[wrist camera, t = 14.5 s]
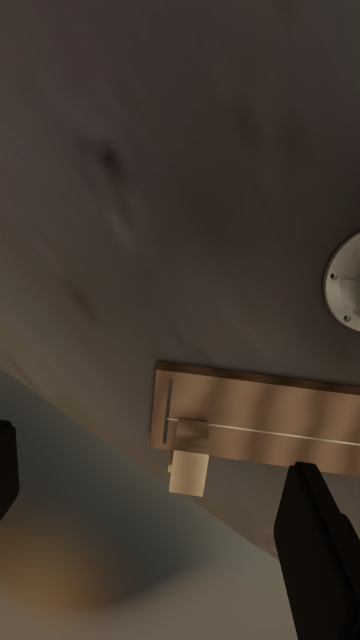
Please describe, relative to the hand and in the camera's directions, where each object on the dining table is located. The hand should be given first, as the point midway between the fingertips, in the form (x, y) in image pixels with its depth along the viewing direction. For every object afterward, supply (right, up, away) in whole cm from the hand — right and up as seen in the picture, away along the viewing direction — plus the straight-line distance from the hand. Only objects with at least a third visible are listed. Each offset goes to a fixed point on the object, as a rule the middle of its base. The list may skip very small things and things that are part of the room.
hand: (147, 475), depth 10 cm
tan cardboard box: (+3, -11, +32) cm, 34 cm away
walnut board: (+13, -8, +31) cm, 34 cm away
